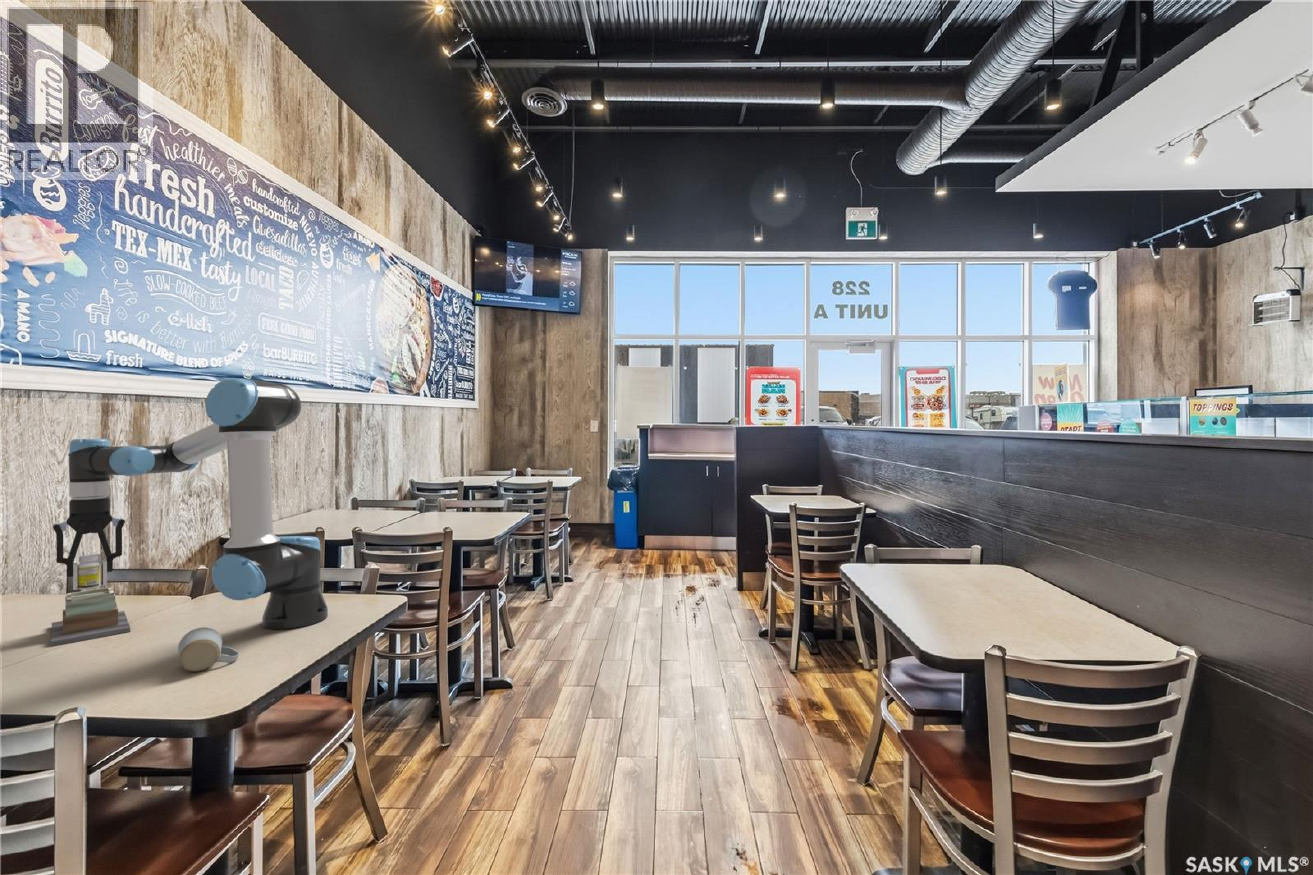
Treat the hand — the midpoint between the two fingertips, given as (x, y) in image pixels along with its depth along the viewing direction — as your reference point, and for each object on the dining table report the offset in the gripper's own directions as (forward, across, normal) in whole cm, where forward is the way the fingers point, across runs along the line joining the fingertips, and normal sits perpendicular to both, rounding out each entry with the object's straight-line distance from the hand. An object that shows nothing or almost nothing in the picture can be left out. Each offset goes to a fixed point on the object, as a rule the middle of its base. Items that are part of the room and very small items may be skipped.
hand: (90, 586), depth 149 cm
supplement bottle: (+1, 0, 0) cm, 1 cm away
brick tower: (+11, 0, 0) cm, 11 cm away
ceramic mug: (+12, -17, +51) cm, 55 cm away
